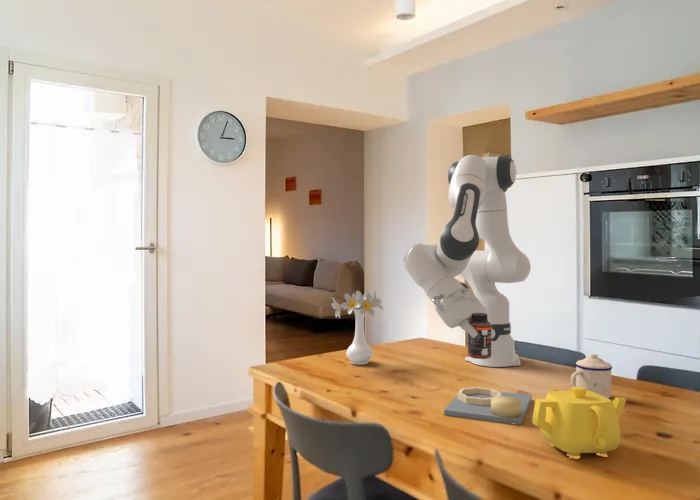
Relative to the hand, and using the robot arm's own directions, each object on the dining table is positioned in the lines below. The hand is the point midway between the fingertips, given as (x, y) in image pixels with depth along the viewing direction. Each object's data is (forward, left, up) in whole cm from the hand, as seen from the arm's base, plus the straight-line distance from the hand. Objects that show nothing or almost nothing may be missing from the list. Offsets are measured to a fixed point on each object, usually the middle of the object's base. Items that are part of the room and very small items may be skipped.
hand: (481, 333), depth 140 cm
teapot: (+22, +23, -18) cm, 37 cm away
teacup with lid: (-18, +25, -18) cm, 36 cm away
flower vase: (-29, -48, -18) cm, 59 cm away
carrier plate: (+2, +2, -18) cm, 19 cm away
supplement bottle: (0, -1, -6) cm, 6 cm away
